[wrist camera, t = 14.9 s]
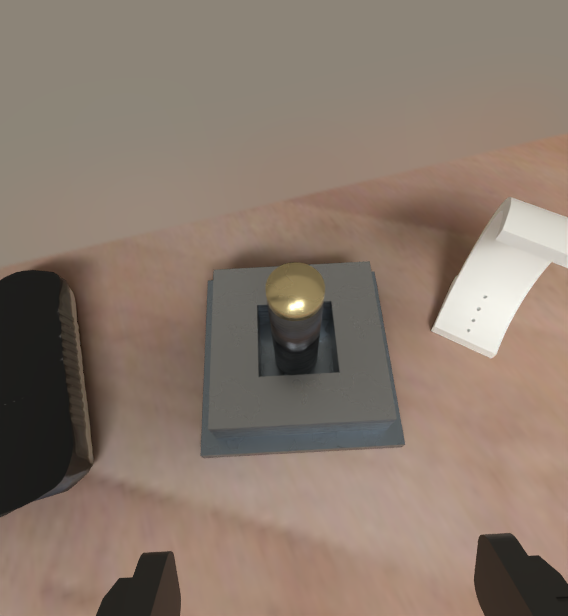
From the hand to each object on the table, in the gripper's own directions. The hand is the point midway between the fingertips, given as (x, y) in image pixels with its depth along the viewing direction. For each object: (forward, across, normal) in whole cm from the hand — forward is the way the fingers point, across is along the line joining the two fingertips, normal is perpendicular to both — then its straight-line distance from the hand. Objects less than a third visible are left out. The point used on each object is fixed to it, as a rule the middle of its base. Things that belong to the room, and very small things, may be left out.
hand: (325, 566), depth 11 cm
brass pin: (+18, 0, +2) cm, 19 cm away
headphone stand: (+22, -14, +1) cm, 26 cm away
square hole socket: (+19, 0, +3) cm, 20 cm away
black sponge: (+19, +19, +4) cm, 27 cm away
